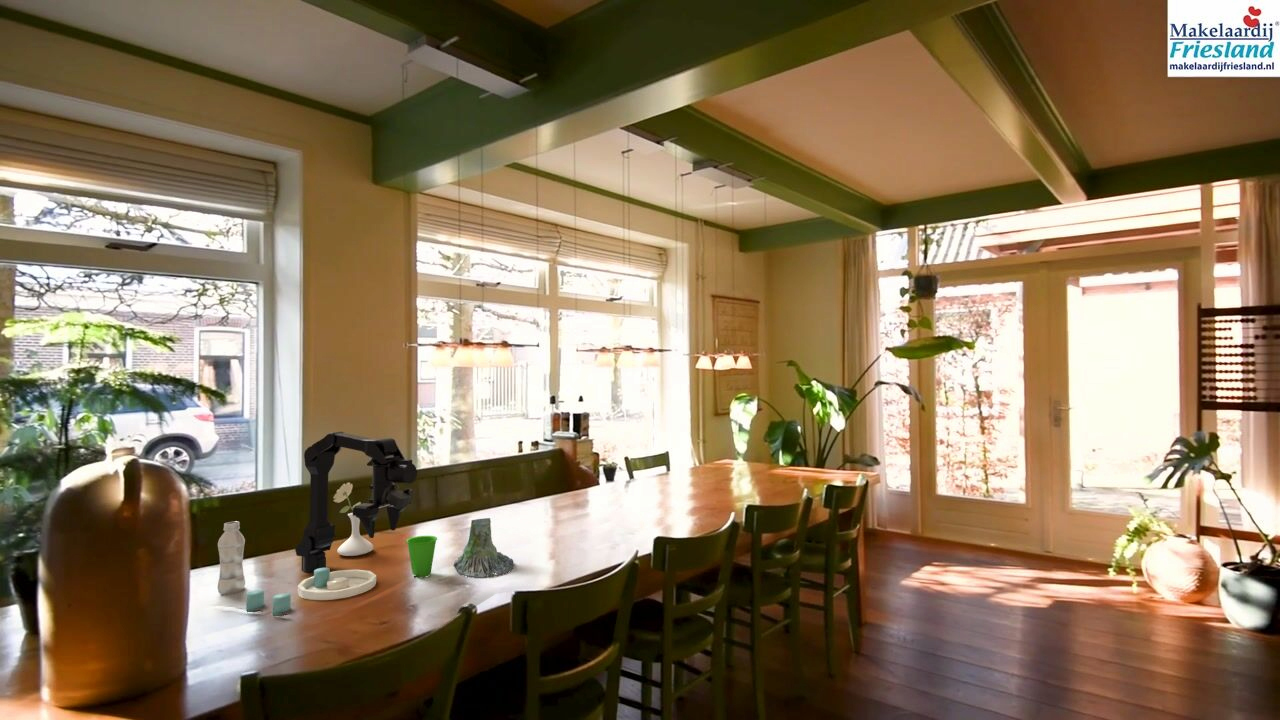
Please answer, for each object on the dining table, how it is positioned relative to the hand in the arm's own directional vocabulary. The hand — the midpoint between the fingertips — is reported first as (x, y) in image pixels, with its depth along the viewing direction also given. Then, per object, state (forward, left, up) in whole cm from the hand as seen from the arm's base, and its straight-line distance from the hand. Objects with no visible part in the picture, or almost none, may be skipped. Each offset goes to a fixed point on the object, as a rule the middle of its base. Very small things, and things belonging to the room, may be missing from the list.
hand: (382, 534), depth 188 cm
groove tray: (-7, -10, -14) cm, 19 cm away
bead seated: (-13, -10, -13) cm, 21 cm away
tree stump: (+21, +21, -15) cm, 33 cm away
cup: (+7, +9, -15) cm, 19 cm away
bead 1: (-17, -28, -14) cm, 36 cm away
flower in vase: (-30, +21, -15) cm, 40 cm away
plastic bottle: (-34, -21, -15) cm, 43 cm away
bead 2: (-8, -28, -14) cm, 32 cm away
